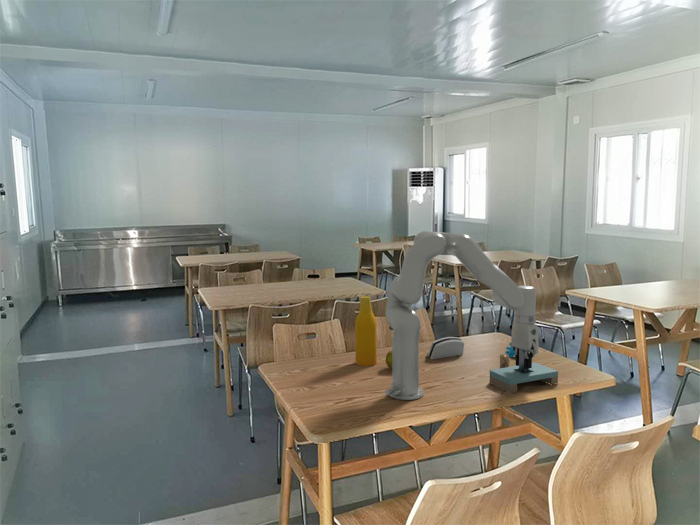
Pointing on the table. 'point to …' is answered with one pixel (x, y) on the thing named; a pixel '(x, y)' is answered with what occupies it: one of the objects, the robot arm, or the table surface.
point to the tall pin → (522, 362)
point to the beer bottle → (366, 334)
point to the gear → (510, 351)
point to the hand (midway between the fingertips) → (523, 366)
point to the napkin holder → (446, 347)
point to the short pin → (504, 361)
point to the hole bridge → (521, 376)
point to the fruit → (389, 359)
